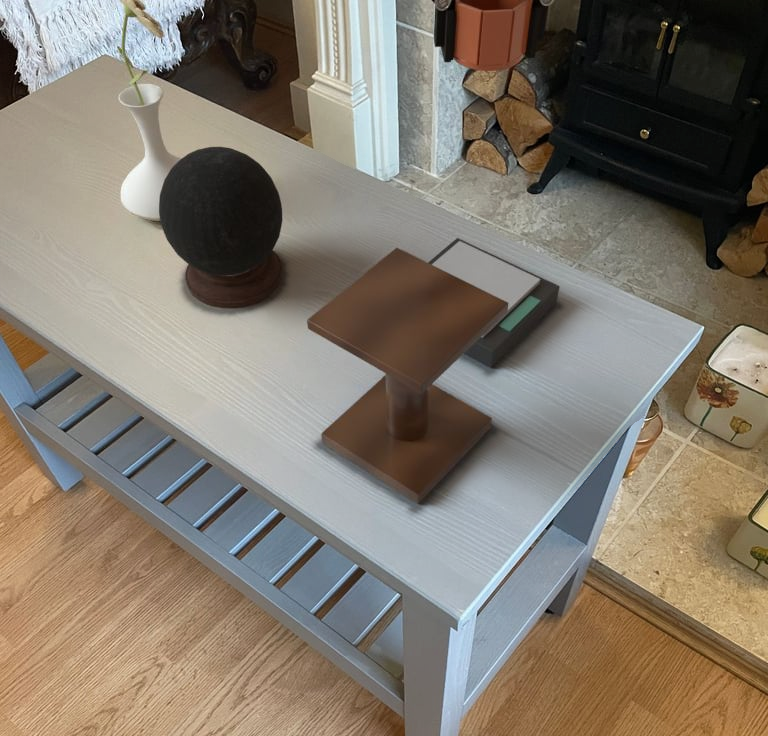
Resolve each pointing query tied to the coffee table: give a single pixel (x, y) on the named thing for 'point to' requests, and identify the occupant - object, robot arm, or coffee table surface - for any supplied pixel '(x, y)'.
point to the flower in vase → (144, 129)
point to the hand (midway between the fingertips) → (487, 50)
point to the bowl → (491, 33)
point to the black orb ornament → (223, 226)
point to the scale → (499, 295)
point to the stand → (407, 369)
